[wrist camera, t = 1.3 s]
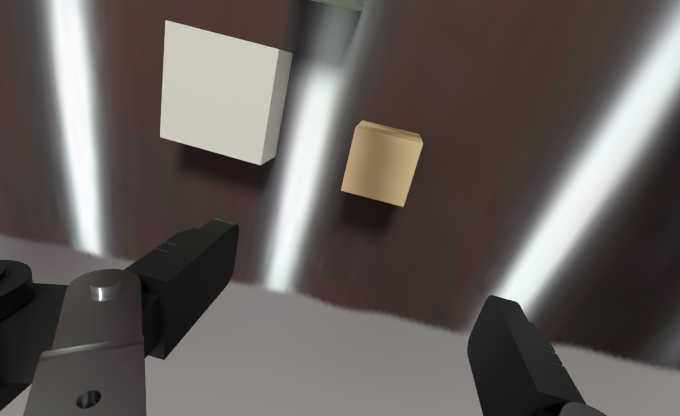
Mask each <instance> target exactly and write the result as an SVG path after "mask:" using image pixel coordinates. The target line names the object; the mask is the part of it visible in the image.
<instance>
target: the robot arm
mask: <svg viewBox="0 0 680 416" xmlns="http://www.w3.org/2000/svg"><path fill="white" fill-rule="evenodd" d="M238 235H239V227H238V225H237V224H234V223H231V222H227V221H223V220H220V219H216V218H214V219H212V220H211V221H209V222H208V223H207V224H205V225H204V226H203V227H201V228H200V229H195V228H193V229H190V230H186V231H183V232H180V233H177V234H176V235H174V236H173V237H171V238H170V239H168V240H167V241H166V243H165V242H164V243H163V244H161V245H160V246H158V247H157V249H154V250H152V251H151V252H149V253H148V254H147V255H145V256H144V257H142V258H141V259H139V260H138V261H136V262H135V263H133V264H132V265H130V266H129V267H127V268H126V269H125V270H120V269H105V270H98V271H94V272H90V273H87V274H84V275H82V276H80V277H78V278H76V279H75V280H73V281H72V282H71V283H70V284H69V285H54V284H38V283H33V281H32V272H31V269H30V267H29V266H28V265H26V264H24V263H22V262H18V261H12V260H0V411H1V410H2V409H3V408H4V407H6V405H8V404H9V403H10V402H11V401H12V400H13V399H15V398H16V397H17V396H18V395H19V394H20V393H21V392H22V391H24V390H25V389H26V388H27V387H28V386H29V385H30V384H31V383H32V386H31V389H30V393H29V397H28V400H27V404H26V408H25V411H24V415H23V416H146V390H145V360H144V359H145V358H146V357H147V356H148V355H150V356H153V357H156V358H160V359H163V360H165V358H166V357H167V356H168V355H169V353H170V352H171V351H172V350H173V349H174V347H175V346H176V345H177V344H178V343H179V342H180V340H181V339H182V338H183V337H184V336H185V335H186V333H187V332H188V331H189V330H190V329H191V327H192V326H193V325H194V324H195V323H196V322H197V320H198V319H199V318H200V317H201V316H202V314H203V313H204V312H205V311H206V310H207V309H208V307H209V306H210V305H211V304H212V303H213V301H214V300H215V299H216V298H217V296H218V295H219V294H220V293H221V292H222V291H223V289H224V288H225V287H226V286H227V285H228V283H229V281H230V279H231V277H232V274H233V271H234V266H235V258H236V251H237V243H238ZM467 351H468V358H469V362H470V366H471V369H472V374H473V377H474V381H475V385H476V389H477V393H478V397H479V401H480V404H481V408H482V412H483V416H606V415H605V414H603V413H602V412H600V411H598V410H596V409H595V408H593V407H590V406H588V405H586V403H585V401H584V400H583V398H582V396H581V394H580V393H579V391H578V389H577V388H576V386H575V384H574V383H573V381H572V379H571V378H570V376H569V374H568V372H567V371H566V369H565V367H563V366H562V362H561V361H560V359H559V357H558V355H557V354H555V350H554V349H553V347H552V345H551V344H550V342H549V340H548V339H547V337H546V336H545V335H544V334H543V333H542V332H541V331H540V330H539V329H538V328H537V327H536V326H535V325H534V324H533V323H529V321H528V319H527V318H526V316H525V314H524V312H523V310H522V309H521V307H520V305H519V304H518V303H517V302H515V301H511V300H507V299H504V298H500V297H497V296H493V295H491V296H489V297H488V298H487V299H486V301H485V303H484V305H483V308H482V310H481V312H480V314H479V316H478V319H477V321H476V323H475V325H474V327H473V330H472V332H471V334H470V337H469V341H468V349H467Z"/></svg>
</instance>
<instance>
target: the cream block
mask: <svg viewBox="0 0 680 416" xmlns="http://www.w3.org/2000/svg"><path fill="white" fill-rule="evenodd" d="M292 57H293V53H290V52H286V51H283V50H279V49H276V48H272V47H268V46H264V45H260V44H256V43H252V42H248V41H244V40H240V39H237V38H233V37H229V36H225V35H221V34H217V33H213V32H209V31H205V30H202V29H198V28H194V27H190V26H186V25H182V24H178V23H174V22H170V21H167V20H166V22H165V43H164V64H163V85H162V106H161V127H160V137H162V138H165V139H169V140H172V141H176V142H179V143H183V144H187V145H190V146H194V147H197V148H201V149H204V150H208V151H211V152H215V153H218V154H222V155H226V156H229V157H233V158H236V159H240V160H243V161H247V162H250V163H254V164H258V165H262V164H264V163H265V162H267V161H269V160H270V159H272V158H274V157H275V156H276V150H277V144H278V138H279V132H280V127H281V121H282V115H283V109H284V104H285V98H286V92H287V86H288V80H289V75H290V69H291V63H292Z"/></svg>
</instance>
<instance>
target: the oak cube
mask: <svg viewBox="0 0 680 416" xmlns="http://www.w3.org/2000/svg"><path fill="white" fill-rule="evenodd" d="M422 146H423V142H422V140H421V137H420V135H419V134H416V133H412V132H408V131H404V130H400V129H396V128H392V127H388V126H384V125H379V124H375V123H371V122H367V121H363V120H362V121H361V122H360V123H359V124H358V125H357V126H356V128H355V132H354V136H353V141H352V145H351V149H350V154H349V158H348V162H347V166H346V171H345V175H344V179H343V183H342V188H341V191H345V192H348V193H352V194H356V195H360V196H364V197H367V198H371V199H375V200H379V201H383V202H386V203H390V204H394V205H398V206H401V207H404V204H405V200H406V197H407V194H408V191H409V188H410V184H411V181H412V178H413V175H414V171H415V168H416V165H417V162H418V158H419V155H420V152H421V149H422Z"/></svg>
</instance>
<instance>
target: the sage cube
mask: <svg viewBox="0 0 680 416" xmlns="http://www.w3.org/2000/svg"><path fill="white" fill-rule="evenodd" d="M311 1H316V2H320V3H325V4H329V5H334V6H338V7H343V8H347V9H352V10H356V11H360V12H362V10H363V5H364V1H365V0H311Z"/></svg>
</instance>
